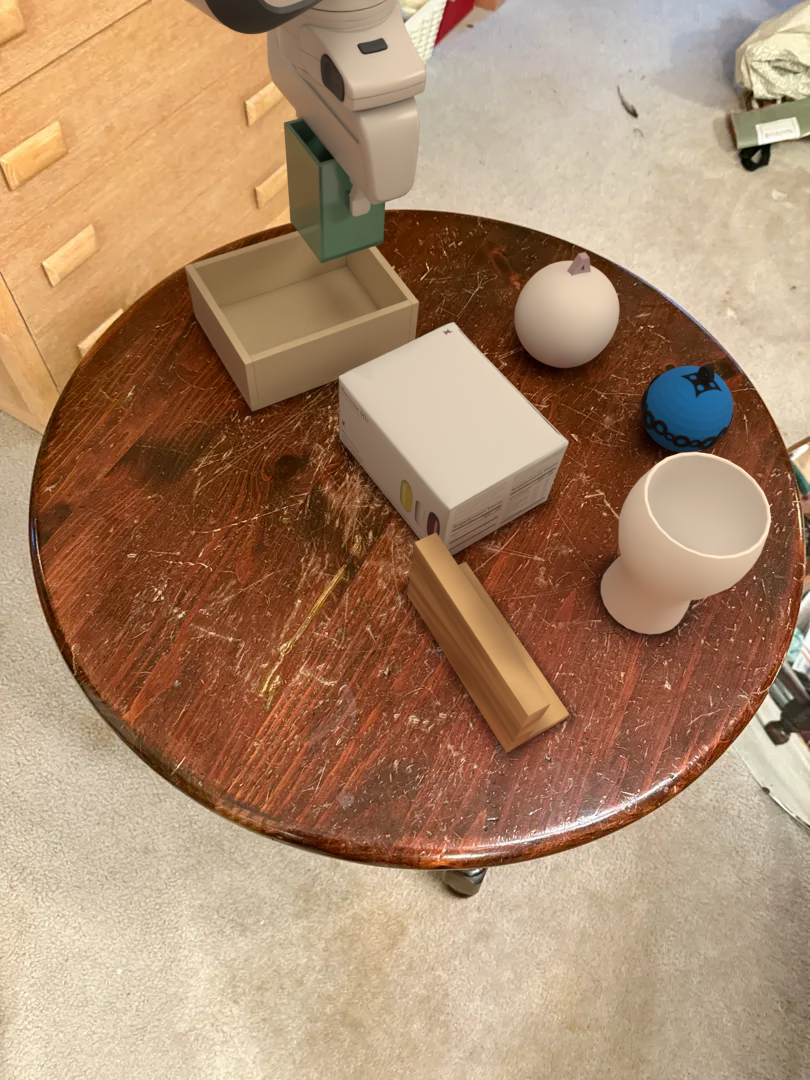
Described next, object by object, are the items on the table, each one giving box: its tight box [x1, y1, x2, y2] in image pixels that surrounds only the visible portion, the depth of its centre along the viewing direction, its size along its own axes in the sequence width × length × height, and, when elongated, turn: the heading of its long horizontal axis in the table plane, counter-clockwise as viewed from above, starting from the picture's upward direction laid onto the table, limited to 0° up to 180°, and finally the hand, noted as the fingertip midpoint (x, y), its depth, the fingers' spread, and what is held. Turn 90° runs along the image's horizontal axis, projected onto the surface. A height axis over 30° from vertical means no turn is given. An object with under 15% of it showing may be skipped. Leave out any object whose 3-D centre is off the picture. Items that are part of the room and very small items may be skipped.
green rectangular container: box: [283, 118, 386, 264], centre depth 74 cm, size 12×7×12 cm
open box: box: [184, 230, 420, 412], centre depth 84 cm, size 19×15×7 cm
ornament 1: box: [513, 251, 620, 369], centre depth 83 cm, size 10×10×12 cm
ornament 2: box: [640, 364, 734, 453], centre depth 78 cm, size 9×9×10 cm
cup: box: [600, 451, 772, 635], centre depth 67 cm, size 11×11×15 cm
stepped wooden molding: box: [406, 533, 570, 753], centre depth 65 cm, size 6×16×9 cm, turn 30°
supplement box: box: [338, 321, 570, 556], centre depth 75 cm, size 17×13×9 cm
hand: (337, 184), depth 73 cm, fingers closed on green rectangular container, 6 cm apart
